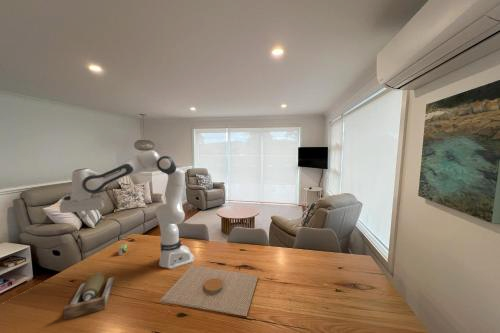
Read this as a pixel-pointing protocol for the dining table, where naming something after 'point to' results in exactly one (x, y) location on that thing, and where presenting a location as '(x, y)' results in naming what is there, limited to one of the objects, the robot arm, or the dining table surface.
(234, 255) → the dining table surface
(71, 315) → the cradle
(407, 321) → the dining table surface
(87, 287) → the squeeze bottle
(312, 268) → the dining table surface
